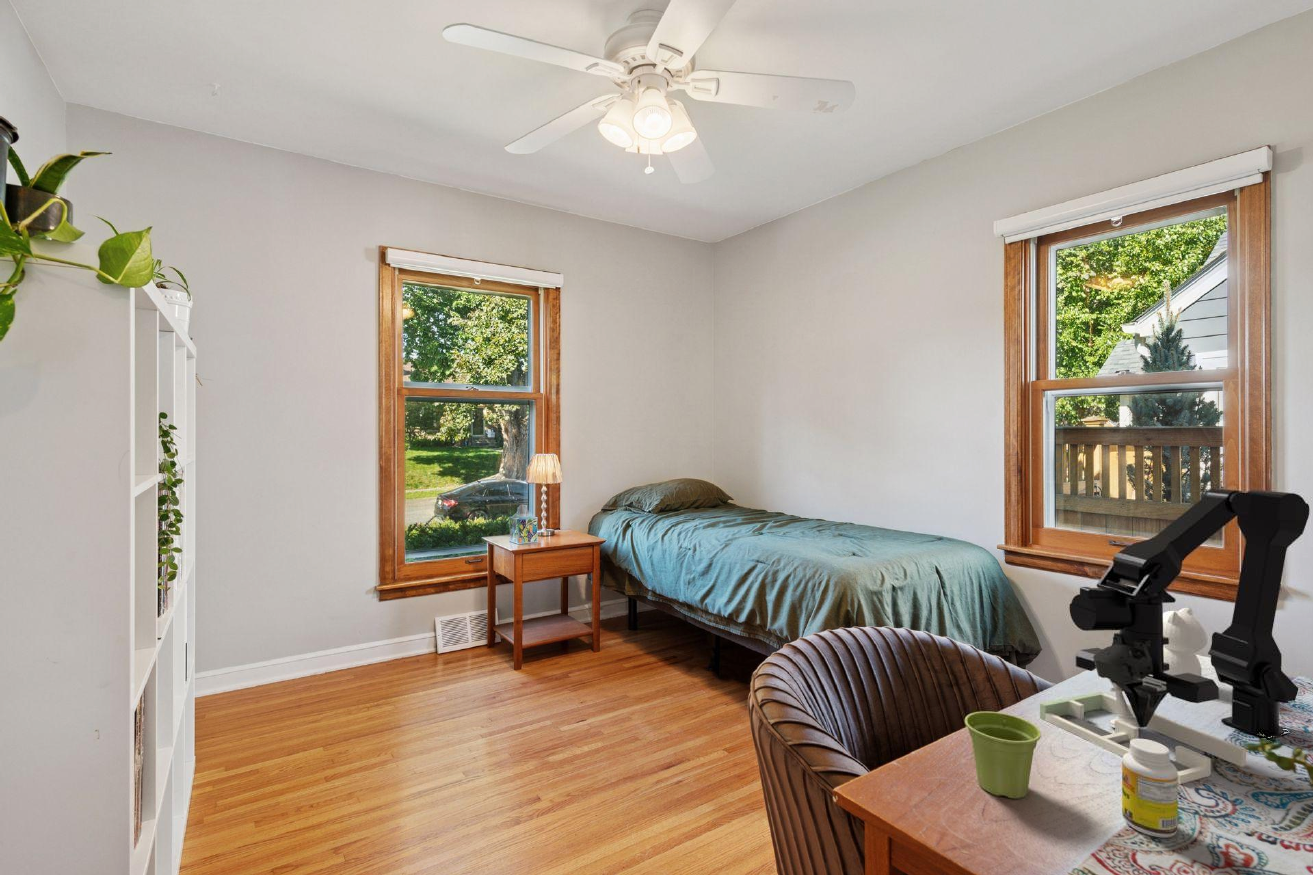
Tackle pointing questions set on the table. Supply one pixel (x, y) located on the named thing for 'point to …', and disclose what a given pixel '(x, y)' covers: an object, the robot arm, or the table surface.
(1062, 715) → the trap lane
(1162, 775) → the supplement bottle
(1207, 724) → the table surface
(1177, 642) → the cat figurine
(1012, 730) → the plant pot
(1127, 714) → the chess piece
